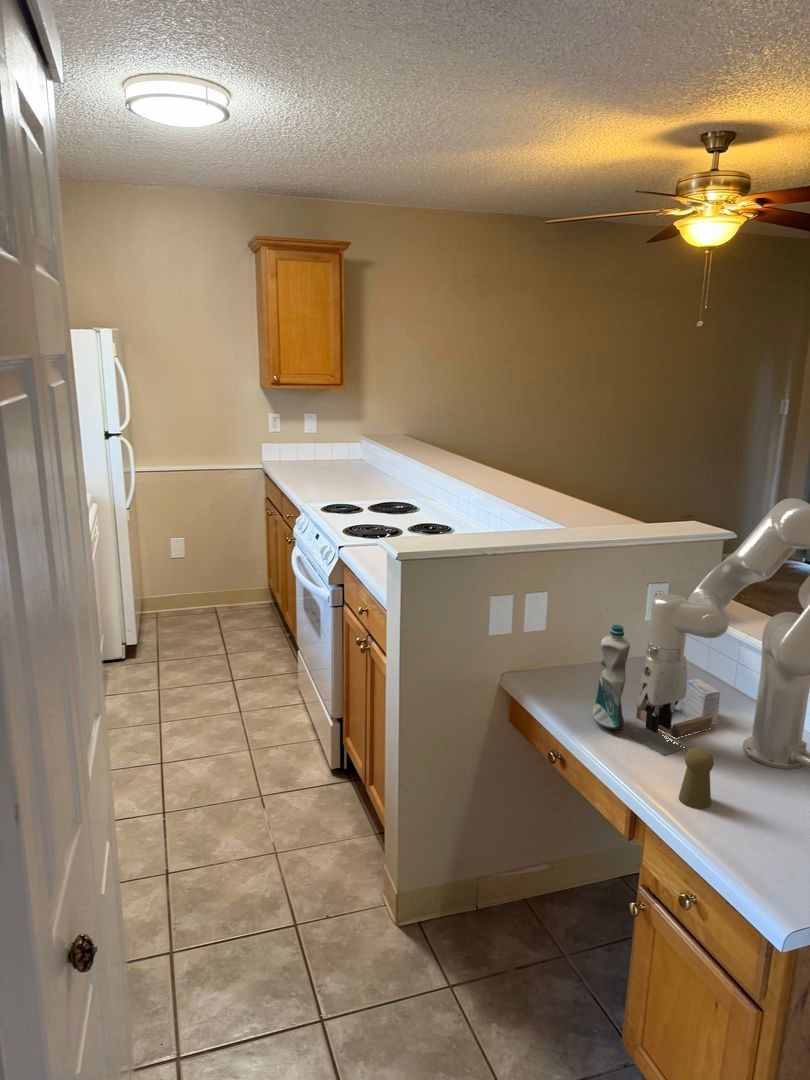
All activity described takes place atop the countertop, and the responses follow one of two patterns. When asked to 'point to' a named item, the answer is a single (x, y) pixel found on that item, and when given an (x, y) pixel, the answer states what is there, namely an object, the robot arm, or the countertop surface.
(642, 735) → the stand pad
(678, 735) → the frame
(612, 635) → the detergent
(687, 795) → the olive pawn figure
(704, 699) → the medicine box
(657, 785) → the countertop surface
